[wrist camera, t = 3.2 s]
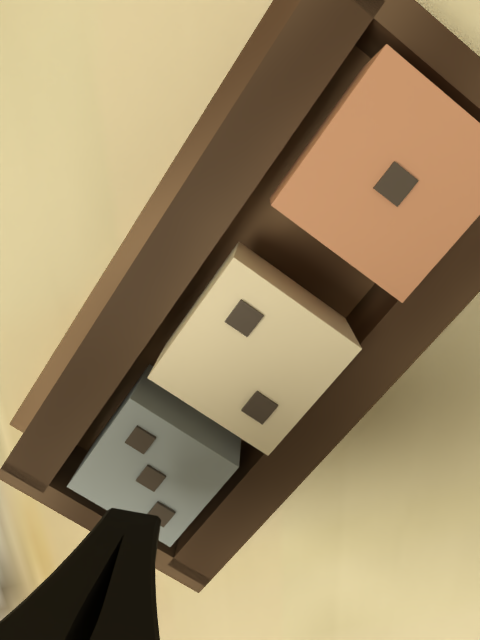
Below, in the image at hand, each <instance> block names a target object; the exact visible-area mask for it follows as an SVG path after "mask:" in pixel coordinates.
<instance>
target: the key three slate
mask: <svg viewBox="0 0 480 640" xmlns="http://www.w3.org/2000/svg"><path fill="white" fill-rule="evenodd" d="M152 368H153V366H152V365H150V364H149V366H148V367H147V368H146V370H145V371H144V373H143V374H142V375H141V377H140V378H139V380H138V381H137V382H136V384H135V385H134V387H133V388H132V389H131V391H130V392H129V394H128V395H127V396H126V398H125V399H124V401H123V402H122V404H121V405H120V406H119V408H118V409H117V411H116V412H115V413H114V415H113V416H112V418H111V419H110V420H109V422H108V423H107V425H106V426H105V427H104V429H103V430H102V432H101V433H100V435H99V436H98V437H97V439H96V440H95V442H94V443H93V445H92V446H91V448H90V450H89V451H88V453H87V454H86V456H85V458H84V459H83V461H82V463H81V464H80V466H79V468H78V469H77V471H76V472H75V474H74V476H73V477H72V479H71V481H70V482H69V484H68V486H67V487H68V488H70V489H71V490H73V491H75V492H76V493H78V494H80V495H82V496H83V497H85V498H87V499H88V500H90V501H92V502H94V503H95V504H97V505H99V506H100V507H102V508H104V509H106V510H109V509H111V508H116V509H122V510H128V511H133V512H139V513H145V514H150V515H156V516H158V517H159V518H160V519H161V526H160V533H159V541H160V542H162V543H164V544H166V545H167V546H169V547H171V546H172V545H173V543H174V542H175V541H176V540H177V539H178V538H179V536H180V535H181V534H182V533H183V532H184V531H185V529H186V528H187V527H188V526H189V525H190V524H191V523H192V521H193V520H194V519H195V518H196V517H197V516H198V514H199V513H200V512H201V511H202V510H203V509H204V507H205V506H206V505H207V504H208V503H209V502H210V500H211V499H212V498H213V497H214V496H215V495H216V493H217V492H218V491H219V490H220V489H221V488H222V486H223V485H224V484H225V483H226V482H227V481H228V480H229V478H230V477H231V476H232V475H233V474H234V473H235V471H236V470H237V469H238V468H239V461H240V449H241V438H240V437H238V436H237V435H235V434H233V433H232V432H230V431H229V430H227V429H226V428H224V427H223V426H221V425H219V424H218V423H216V422H215V421H213V420H212V419H210V418H209V417H207V416H205V415H204V414H202V413H201V412H199V411H198V410H196V409H195V408H193V407H191V406H190V405H188V404H187V403H185V402H184V401H182V400H181V399H179V398H177V397H176V396H174V395H173V394H171V393H170V392H168V391H167V390H165V389H163V388H162V387H160V386H159V385H157V384H156V383H154V382H153V381H151V380H149V379H148V378H147V377H148V376H149V374H150V372H151V370H152Z"/></svg>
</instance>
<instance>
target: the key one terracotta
mask: <svg viewBox="0 0 480 640" xmlns="http://www.w3.org/2000/svg"><path fill="white" fill-rule="evenodd" d="M269 199H270V203H271V206H273V207H274V208H275V209H277V210H278V211H279V212H281V213H282V214H283V215H285V216H286V217H287V218H289V219H290V220H291V221H293V222H294V223H295V224H297V225H298V226H299V227H301V228H302V229H303V230H305V231H306V232H307V233H309V234H310V235H311V236H313V237H314V238H315V239H317V240H318V241H320V242H321V243H322V244H324V245H325V246H326V247H328V248H329V249H330V250H332V251H333V252H334V253H336V254H337V255H338V256H340V257H341V258H342V259H344V260H345V261H346V262H348V263H349V264H350V265H352V266H353V267H354V268H356V269H357V270H358V271H360V272H361V273H362V274H364V275H365V276H366V277H368V278H369V279H371V280H372V281H373V282H375V283H376V284H377V285H379V286H380V287H381V288H383V289H384V290H385V291H387V292H388V293H389V294H391V295H392V296H393V297H395V298H396V299H397V300H399V301H400V302H401V303H403V302H404V301H405V300H406V298H407V297H408V296H409V295H410V294H411V293H412V292H413V290H414V289H415V288H416V287H417V286H418V285H419V284H420V282H421V281H422V280H423V279H424V278H425V277H426V276H427V274H428V273H429V272H430V271H431V270H432V269H433V268H434V266H435V265H436V264H437V263H438V262H439V261H440V260H441V259H442V257H443V256H444V255H445V254H446V253H447V252H448V251H449V249H450V248H451V247H452V246H453V245H454V244H455V243H456V241H457V240H458V239H459V238H460V237H461V236H462V235H463V233H464V232H465V231H466V230H467V229H468V228H469V227H470V225H471V224H472V223H473V222H474V221H475V220H476V219H477V218H478V216H479V215H480V123H479V122H478V121H477V120H476V119H474V118H473V117H472V116H471V115H470V114H469V113H467V112H466V111H465V110H464V109H463V108H462V107H460V106H459V105H458V104H457V103H456V102H454V101H453V100H452V99H451V98H450V97H449V96H447V95H446V94H445V93H444V92H443V91H442V90H440V89H439V88H438V87H437V86H436V85H434V84H433V83H432V82H431V81H430V80H429V79H427V78H426V77H425V76H424V75H423V74H422V73H420V72H419V71H418V70H417V69H416V68H414V67H413V66H412V65H411V64H410V63H409V62H407V61H406V60H405V59H404V58H403V57H402V56H400V55H399V54H398V53H397V52H396V51H394V50H393V49H392V48H391V47H390V46H389V45H387V44H386V45H385V46H384V47H383V48H382V49H381V50H380V51H379V52H378V53H377V54H376V55H375V56H374V57H373V58H372V59H371V60H370V61H369V62H368V63H367V64H366V65H365V66H364V67H363V68H362V69H361V70H360V72H359V73H358V74H357V76H356V77H355V79H354V80H353V81H352V83H351V84H350V86H349V87H348V88H347V90H346V91H345V93H344V94H343V95H342V97H341V98H340V100H339V101H338V102H337V104H336V105H335V107H334V108H333V110H332V111H331V112H330V114H329V115H328V117H327V118H326V119H325V121H324V122H323V124H322V125H321V126H320V128H319V129H318V131H317V132H316V133H315V135H314V136H313V138H312V139H311V140H310V142H309V143H308V145H307V146H306V147H305V149H304V150H303V152H302V153H301V155H300V156H299V157H298V159H297V160H296V162H295V163H294V164H293V166H292V167H291V169H290V170H289V171H288V173H287V174H286V176H285V177H284V178H283V180H282V181H281V183H280V184H279V185H278V187H277V188H276V190H275V191H274V192H273V194H272V195H271V197H270V198H269Z"/></svg>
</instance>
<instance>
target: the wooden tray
mask: <svg viewBox="0 0 480 640" xmlns="http://www.w3.org/2000/svg"><path fill="white" fill-rule="evenodd" d="M386 44H387V45H389V46H390V47H391V48H392V49H393V50H394V51H396V52H397V53H398V54H399V55H400V56H402V57H403V58H404V59H405V60H406V61H407V62H409V63H410V64H411V65H412V66H413V67H414V68H416V69H417V70H418V71H419V72H420V73H422V74H423V75H424V76H425V77H426V78H427V79H429V80H430V81H431V82H432V83H433V84H434V85H436V86H437V87H438V88H439V89H440V90H442V91H443V92H444V93H445V94H446V95H447V96H449V97H450V98H451V99H452V100H453V101H454V102H456V103H457V104H458V105H459V106H460V107H462V108H463V109H464V110H465V111H466V112H467V113H469V114H470V115H471V116H472V117H473V118H474V119H476V120H477V121H478V122H479V123H480V57H479V56H478V55H477V54H476V53H474V52H473V51H472V50H471V49H470V48H469V47H468V46H466V45H465V44H464V43H463V42H462V41H461V40H460V39H458V38H457V37H456V36H455V35H454V34H453V33H452V32H451V31H449V30H448V29H447V28H446V27H445V26H444V25H443V24H441V23H440V22H439V21H438V20H437V19H436V18H435V17H433V16H432V15H431V14H430V13H429V12H428V11H427V10H425V9H424V8H423V7H422V6H421V5H420V4H419V3H418V2H416V1H415V0H273V2H272V3H271V5H270V7H269V8H268V10H267V11H266V13H265V15H264V16H263V18H262V19H261V21H260V23H259V24H258V26H257V27H256V29H255V31H254V32H253V34H252V35H251V37H250V39H249V40H248V42H247V43H246V45H245V47H244V48H243V50H242V51H241V53H240V55H239V56H238V58H237V60H236V61H235V63H234V64H233V66H232V68H231V69H230V71H229V72H228V74H227V76H226V77H225V79H224V80H223V82H222V84H221V85H220V87H219V88H218V90H217V92H216V93H215V95H214V96H213V98H212V100H211V101H210V103H209V104H208V106H207V108H206V109H205V111H204V112H203V114H202V116H201V117H200V119H199V121H198V122H197V124H196V125H195V127H194V129H193V130H192V132H191V133H190V135H189V137H188V138H187V140H186V141H185V143H184V145H183V146H182V148H181V149H180V151H179V153H178V154H177V156H176V157H175V159H174V161H173V162H172V164H171V165H170V167H169V169H168V170H167V172H166V173H165V175H164V177H163V178H162V180H161V182H160V183H159V185H158V186H157V188H156V190H155V191H154V193H153V194H152V196H151V198H150V199H149V201H148V202H147V204H146V206H145V207H144V209H143V210H142V212H141V214H140V215H139V217H138V218H137V220H136V222H135V223H134V225H133V226H132V228H131V230H130V231H129V233H128V234H127V236H126V238H125V239H124V241H123V243H122V244H121V246H120V247H119V249H118V251H117V252H116V254H115V255H114V257H113V259H112V260H111V262H110V263H109V265H108V267H107V268H106V270H105V271H104V273H103V275H102V276H101V278H100V279H99V281H98V283H97V284H96V286H95V287H94V289H93V291H92V292H91V294H90V295H89V297H88V299H87V300H86V302H85V304H84V305H83V307H82V308H81V310H80V312H79V313H78V315H77V316H76V318H75V320H74V321H73V323H72V324H71V326H70V328H69V329H68V331H67V332H66V334H65V336H64V337H63V339H62V340H61V342H60V344H59V345H58V347H57V348H56V350H55V352H54V353H53V355H52V356H51V358H50V360H49V361H48V363H47V365H46V366H45V368H44V369H43V371H42V373H41V374H40V376H39V377H38V379H37V381H36V382H35V384H34V385H33V387H32V389H31V390H30V392H29V393H28V395H27V397H26V398H25V400H24V401H23V403H22V405H21V406H20V408H19V409H18V411H17V413H16V414H15V416H14V417H13V419H12V421H11V422H10V425H11V426H13V427H15V428H16V429H18V430H20V431H21V432H23V435H22V436H21V438H20V439H19V441H18V443H17V444H16V446H15V447H14V449H13V450H12V452H11V453H10V455H9V457H8V458H7V460H6V461H5V463H4V464H3V466H2V468H1V469H0V480H2V481H4V482H5V483H7V484H9V485H11V486H12V487H14V488H16V489H18V490H19V491H21V492H23V493H25V494H26V495H28V496H30V497H32V498H33V499H35V500H37V501H39V502H40V503H42V504H44V505H46V506H47V507H49V508H51V509H53V510H54V511H56V512H58V513H60V514H61V515H63V516H65V517H67V518H68V519H70V520H72V521H74V522H75V523H77V524H79V525H81V526H82V527H84V528H86V529H88V530H89V531H91V530H92V529H93V528H94V527H95V526H96V524H97V523H98V522H99V521H100V519H101V518H102V517H103V515H104V514H105V513H106V511H107V510H106V509H104V508H102V507H100V506H99V505H97V504H95V503H94V502H92V501H90V500H88V499H87V498H85V497H83V496H82V495H80V494H78V493H76V492H75V491H73V490H71V489H70V488H68V487H67V486H68V484H69V482H70V481H71V479H72V477H73V476H74V474H75V472H76V471H77V469H78V468H79V466H80V464H81V463H82V461H83V459H84V458H85V456H86V454H87V453H88V451H89V450H90V448H91V446H92V445H93V443H94V442H95V440H96V439H97V437H98V436H99V435H100V433H101V432H102V430H103V429H104V427H105V426H106V425H107V423H108V422H109V420H110V419H111V418H112V416H113V415H114V413H115V412H116V411H117V409H118V408H119V406H120V405H121V404H122V402H123V401H124V399H125V398H126V396H127V395H128V394H129V392H130V391H131V389H132V388H133V387H134V385H135V384H136V382H137V381H138V380H139V378H140V377H141V375H142V374H143V373H144V371H145V370H146V368H147V367H148V366H149V364H150V365H152V366H154V365H155V363H156V361H157V359H158V357H159V355H160V354H161V352H162V350H163V348H164V346H165V345H166V343H167V341H168V340H169V339H170V337H171V336H172V334H173V333H174V332H175V330H176V329H177V327H178V326H179V325H180V323H181V322H182V320H183V319H184V318H185V316H186V315H187V313H188V312H189V311H190V309H191V308H192V306H193V305H194V304H195V302H196V301H197V299H198V298H199V297H200V295H201V294H202V292H203V291H204V289H205V288H206V287H207V285H208V284H209V282H210V281H211V280H212V278H213V277H214V275H215V274H216V273H217V271H218V270H219V268H220V267H221V266H222V264H223V263H224V261H225V260H226V259H227V257H228V256H229V254H230V253H231V252H232V250H233V249H234V247H235V246H236V244H237V243H238V242H240V243H242V244H243V245H245V246H246V247H247V248H249V249H250V250H252V251H253V252H254V253H256V254H257V255H259V256H260V257H261V258H263V259H264V260H265V261H267V262H268V263H270V264H271V265H272V266H274V267H275V268H277V269H278V270H279V271H281V272H282V273H283V274H285V275H286V276H288V277H289V278H290V279H292V280H293V281H295V282H296V283H297V284H299V285H300V286H301V287H303V288H304V289H306V290H307V291H308V292H310V293H311V294H313V295H314V296H315V297H317V298H318V299H320V300H321V301H322V302H324V303H325V304H326V305H328V306H329V307H331V308H332V309H333V310H335V311H336V312H338V313H339V314H340V315H342V316H343V317H344V318H346V320H347V322H348V324H349V326H350V328H351V329H352V331H353V333H354V335H355V337H356V339H357V340H358V342H359V344H360V346H361V348H362V350H361V351H360V352H359V353H358V354H357V355H356V356H355V358H354V359H353V360H352V361H351V362H350V363H349V364H348V366H347V367H346V368H345V369H344V370H343V371H342V372H341V374H340V375H339V376H338V377H337V378H336V379H335V380H334V382H333V383H332V384H331V385H330V386H329V387H328V388H327V389H326V391H325V392H324V393H323V394H322V395H321V396H320V397H319V399H318V400H317V401H316V402H315V403H314V404H313V405H312V407H311V408H310V409H309V410H308V411H307V412H306V413H305V415H304V416H303V417H302V418H301V419H300V420H299V421H298V423H297V424H296V425H295V426H294V427H293V428H292V429H291V430H290V432H289V433H288V434H287V435H286V436H285V437H284V438H283V440H282V441H281V442H280V443H279V444H278V445H277V446H276V448H275V449H274V450H273V451H272V452H271V453H270V454H269V456H268V455H266V454H265V453H263V452H261V451H260V450H258V449H257V448H255V447H254V446H252V445H251V444H249V443H247V442H246V441H244V440H243V439H241V449H240V461H239V468H238V469H237V470H236V471H235V473H234V474H233V475H232V476H231V477H230V478H229V480H228V481H227V482H226V483H225V484H224V485H223V486H222V488H221V489H220V490H219V491H218V492H217V493H216V495H215V496H214V497H213V498H212V499H211V500H210V502H209V503H208V504H207V505H206V506H205V507H204V509H203V510H202V511H201V512H200V513H199V514H198V516H197V517H196V518H195V519H194V520H193V521H192V523H191V524H190V525H189V526H188V527H187V528H186V529H185V531H184V532H183V533H182V534H181V535H180V536H179V538H178V539H177V540H176V541H175V542H174V543H173V545H172V546H171V547H169V546H167V545H166V544H164V543H162V542H160V541H159V540H158V547H157V554H156V561H155V568H156V569H157V570H159V571H161V572H163V573H164V574H166V575H168V576H170V577H171V578H173V579H175V580H177V581H178V582H180V583H182V584H184V585H185V586H187V587H189V588H191V589H192V590H194V591H196V592H198V593H199V592H200V591H201V590H202V589H203V588H204V587H205V586H206V585H207V584H208V583H209V582H210V580H211V579H212V578H213V577H214V576H215V575H216V574H217V573H218V572H219V571H220V570H221V569H222V568H223V567H224V565H225V564H226V563H227V562H228V561H229V560H230V559H231V558H232V557H233V556H234V555H235V554H236V553H237V551H238V550H239V549H240V548H241V547H242V546H243V545H244V544H245V543H246V542H247V541H248V540H249V539H250V538H251V536H252V535H253V534H254V533H255V532H256V531H257V530H258V529H259V528H260V527H261V526H262V525H263V524H264V523H265V521H266V520H267V519H268V518H269V517H270V516H271V515H272V514H273V513H274V512H275V511H276V510H277V509H278V507H279V506H280V505H281V504H282V503H283V502H284V501H285V500H286V499H287V498H288V497H289V496H290V495H291V494H292V492H293V491H294V490H295V489H296V488H297V487H298V486H299V485H300V484H301V483H302V482H303V481H304V480H305V478H306V477H307V476H308V475H309V474H310V473H311V472H312V471H313V470H314V469H315V468H316V467H317V466H318V465H319V463H320V462H321V461H322V460H323V459H324V458H325V457H326V456H327V455H328V454H329V453H330V452H331V451H332V449H333V448H334V447H335V446H336V445H337V444H338V443H339V442H340V441H341V440H342V439H343V438H344V437H345V436H346V434H347V433H348V432H349V431H350V430H351V429H352V428H353V427H354V426H355V425H356V424H357V423H358V422H359V421H360V419H361V418H362V417H363V416H364V415H365V414H366V413H367V412H368V411H369V410H370V409H371V408H372V407H373V405H374V404H375V403H376V402H377V401H378V400H379V399H380V398H381V397H382V396H383V395H384V394H385V393H386V392H387V390H388V389H389V388H390V387H391V386H392V385H393V384H394V383H395V382H396V381H397V380H398V379H399V378H400V376H401V375H402V374H403V373H404V372H405V371H406V370H407V369H408V368H409V367H410V366H411V365H412V364H413V363H414V361H415V360H416V359H417V358H418V357H419V356H420V355H421V354H422V353H423V352H424V351H425V350H426V349H427V348H428V346H429V345H430V344H431V343H432V342H433V341H434V340H435V339H436V338H437V337H438V336H439V335H440V334H441V332H442V331H443V330H444V329H445V328H446V327H447V326H448V325H449V324H450V323H451V322H452V321H453V320H454V319H455V317H456V316H457V315H458V314H459V313H460V312H461V311H462V310H463V309H464V308H465V307H466V306H467V305H468V303H469V302H470V301H471V300H472V299H473V298H474V297H475V296H476V295H477V294H478V293H479V292H480V215H479V216H478V218H477V219H476V220H475V221H474V222H473V223H472V224H471V225H470V227H469V228H468V229H467V230H466V231H465V232H464V233H463V235H462V236H461V237H460V238H459V239H458V240H457V241H456V243H455V244H454V245H453V246H452V247H451V248H450V249H449V251H448V252H447V253H446V254H445V255H444V256H443V257H442V259H441V260H440V261H439V262H438V263H437V264H436V265H435V266H434V268H433V269H432V270H431V271H430V272H429V273H428V274H427V276H426V277H425V278H424V279H423V280H422V281H421V282H420V284H419V285H418V286H417V287H416V288H415V289H414V290H413V292H412V293H411V294H410V295H409V296H408V297H407V298H406V300H405V301H404V302H403V303H401V302H400V301H399V300H397V299H396V298H395V297H393V296H392V295H391V294H389V293H388V292H387V291H385V290H384V289H383V288H381V287H380V286H379V285H377V284H376V283H375V282H373V281H372V280H371V279H369V278H368V277H366V276H365V275H364V274H362V273H361V272H360V271H358V270H357V269H356V268H354V267H353V266H352V265H350V264H349V263H348V262H346V261H345V260H344V259H342V258H341V257H340V256H338V255H337V254H336V253H334V252H333V251H332V250H330V249H329V248H328V247H326V246H325V245H324V244H322V243H321V242H320V241H318V240H317V239H315V238H314V237H313V236H311V235H310V234H309V233H307V232H306V231H305V230H303V229H302V228H301V227H299V226H298V225H297V224H295V223H294V222H293V221H291V220H290V219H289V218H287V217H286V216H285V215H283V214H282V213H281V212H279V211H278V210H277V209H275V208H274V207H273V206H271V203H270V199H269V198H270V197H271V195H272V194H273V192H274V191H275V190H276V188H277V187H278V185H279V184H280V183H281V181H282V180H283V178H284V177H285V176H286V174H287V173H288V171H289V170H290V169H291V167H292V166H293V164H294V163H295V162H296V160H297V159H298V157H299V156H300V155H301V153H302V152H303V150H304V149H305V147H306V146H307V145H308V143H309V142H310V140H311V139H312V138H313V136H314V135H315V133H316V132H317V131H318V129H319V128H320V126H321V125H322V124H323V122H324V121H325V119H326V118H327V117H328V115H329V114H330V112H331V111H332V110H333V108H334V107H335V105H336V104H337V102H338V101H339V100H340V98H341V97H342V95H343V94H344V93H345V91H346V90H347V88H348V87H349V86H350V84H351V83H352V81H353V80H354V79H355V77H356V76H357V74H358V73H359V72H360V70H361V69H362V68H363V67H364V66H365V65H366V64H367V63H368V62H369V61H370V60H371V59H372V58H373V57H374V56H375V55H376V54H377V53H378V52H379V51H380V50H381V49H382V48H383V47H384V46H385V45H386Z"/></svg>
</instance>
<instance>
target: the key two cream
mask: <svg viewBox="0 0 480 640" xmlns="http://www.w3.org/2000/svg"><path fill="white" fill-rule="evenodd" d="M361 350H362V348H361V346H360V344H359V342H358V340H357V339H356V337H355V335H354V333H353V331H352V329H351V328H350V326H349V324H348V322H347V320H346V318H344V317H343V316H342V315H340V314H339V313H338V312H336V311H335V310H333V309H332V308H331V307H329V306H328V305H326V304H325V303H324V302H322V301H321V300H320V299H318V298H317V297H315V296H314V295H313V294H311V293H310V292H308V291H307V290H306V289H304V288H303V287H301V286H300V285H299V284H297V283H296V282H295V281H293V280H292V279H290V278H289V277H288V276H286V275H285V274H283V273H282V272H281V271H279V270H278V269H277V268H275V267H274V266H272V265H271V264H270V263H268V262H267V261H265V260H264V259H263V258H261V257H260V256H259V255H257V254H256V253H254V252H253V251H252V250H250V249H249V248H247V247H246V246H245V245H243V244H242V243H240V242H238V243H237V244H236V246H235V247H234V249H233V250H232V252H231V253H230V254H229V256H228V257H227V259H226V260H225V261H224V263H223V264H222V266H221V267H220V268H219V270H218V271H217V273H216V274H215V275H214V277H213V278H212V280H211V281H210V282H209V284H208V285H207V287H206V288H205V289H204V291H203V292H202V294H201V295H200V297H199V298H198V299H197V301H196V302H195V304H194V305H193V306H192V308H191V309H190V311H189V312H188V313H187V315H186V316H185V318H184V319H183V320H182V322H181V323H180V325H179V326H178V327H177V329H176V330H175V332H174V333H173V334H172V336H171V337H170V339H169V340H168V341H167V343H166V345H165V346H164V348H163V350H162V352H161V354H160V355H159V357H158V359H157V361H156V363H155V365H154V366H153V368H152V370H151V372H150V374H149V376H148V377H147V378H148V379H149V380H151V381H153V382H154V383H156V384H157V385H159V386H160V387H162V388H163V389H165V390H167V391H168V392H170V393H171V394H173V395H174V396H176V397H177V398H179V399H181V400H182V401H184V402H185V403H187V404H188V405H190V406H191V407H193V408H195V409H196V410H198V411H199V412H201V413H202V414H204V415H205V416H207V417H209V418H210V419H212V420H213V421H215V422H216V423H218V424H219V425H221V426H223V427H224V428H226V429H227V430H229V431H230V432H232V433H233V434H235V435H237V436H238V437H240V438H241V439H243V440H244V441H246V442H247V443H249V444H251V445H252V446H254V447H255V448H257V449H258V450H260V451H261V452H263V453H265V454H266V455H268V456H269V454H270V453H271V452H272V451H273V450H274V449H275V448H276V446H277V445H278V444H279V443H280V442H281V441H282V440H283V438H284V437H285V436H286V435H287V434H288V433H289V432H290V430H291V429H292V428H293V427H294V426H295V425H296V424H297V423H298V421H299V420H300V419H301V418H302V417H303V416H304V415H305V413H306V412H307V411H308V410H309V409H310V408H311V407H312V405H313V404H314V403H315V402H316V401H317V400H318V399H319V397H320V396H321V395H322V394H323V393H324V392H325V391H326V389H327V388H328V387H329V386H330V385H331V384H332V383H333V382H334V380H335V379H336V378H337V377H338V376H339V375H340V374H341V372H342V371H343V370H344V369H345V368H346V367H347V366H348V364H349V363H350V362H351V361H352V360H353V359H354V358H355V356H356V355H357V354H358V353H359V352H360V351H361Z"/></svg>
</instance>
